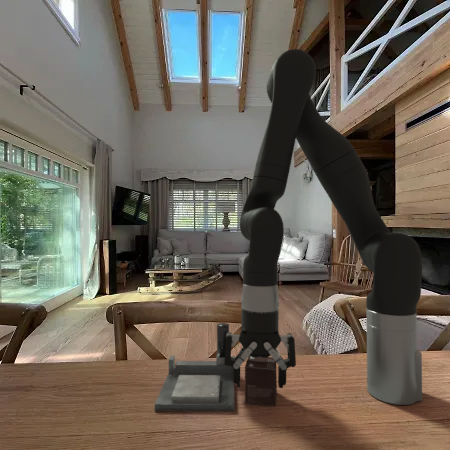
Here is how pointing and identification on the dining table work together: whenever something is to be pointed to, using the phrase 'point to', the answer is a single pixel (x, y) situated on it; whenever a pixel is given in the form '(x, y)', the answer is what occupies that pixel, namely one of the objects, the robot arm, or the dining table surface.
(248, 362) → the box
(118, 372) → the dining table surface
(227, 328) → the lever
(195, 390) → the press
